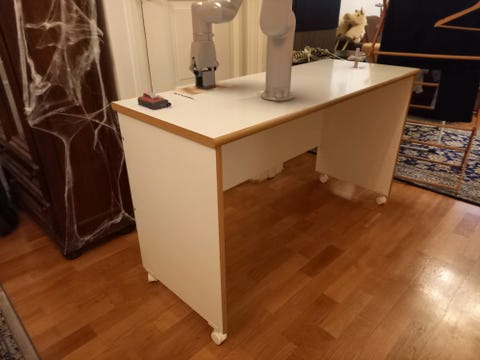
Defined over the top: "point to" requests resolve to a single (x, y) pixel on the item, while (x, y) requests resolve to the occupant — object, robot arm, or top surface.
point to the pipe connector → (357, 57)
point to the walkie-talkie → (153, 101)
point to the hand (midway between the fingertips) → (205, 84)
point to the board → (195, 90)
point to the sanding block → (207, 79)
